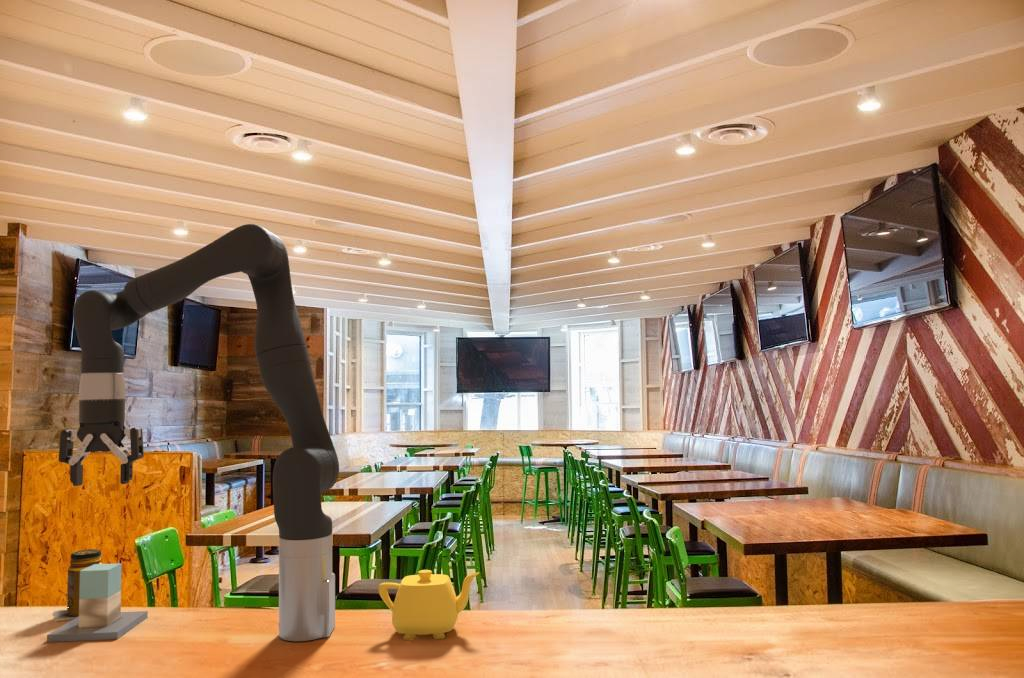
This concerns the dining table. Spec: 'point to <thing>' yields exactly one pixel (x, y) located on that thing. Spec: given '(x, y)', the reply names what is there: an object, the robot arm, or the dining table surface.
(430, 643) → the dining table surface
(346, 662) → the dining table surface
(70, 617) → the condiment
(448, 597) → the teapot
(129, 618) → the plate
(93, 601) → the block birch
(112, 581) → the block teal
